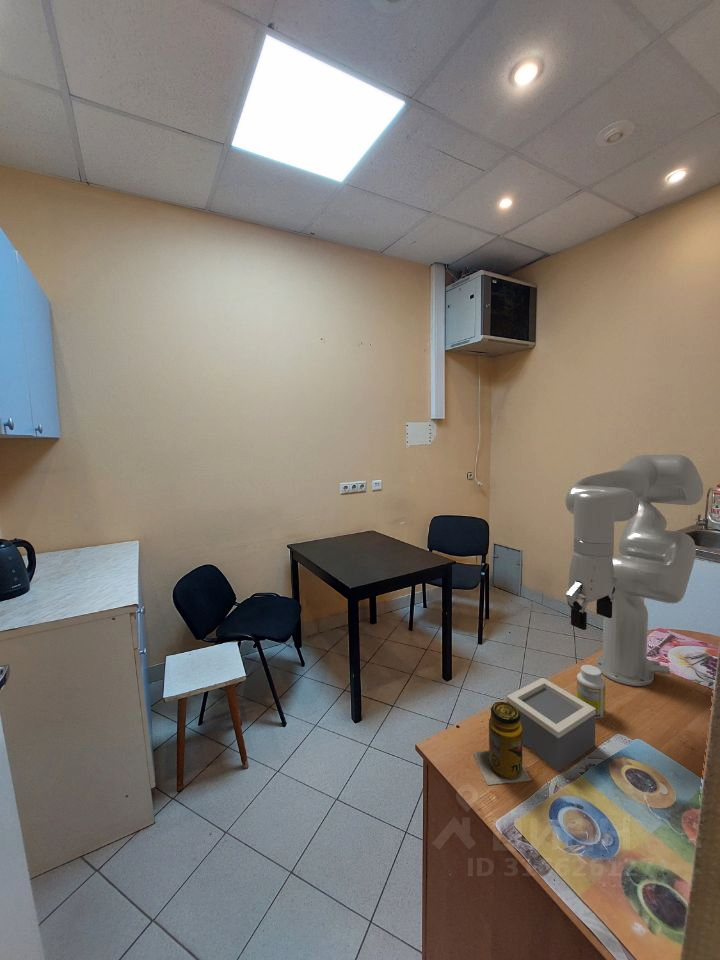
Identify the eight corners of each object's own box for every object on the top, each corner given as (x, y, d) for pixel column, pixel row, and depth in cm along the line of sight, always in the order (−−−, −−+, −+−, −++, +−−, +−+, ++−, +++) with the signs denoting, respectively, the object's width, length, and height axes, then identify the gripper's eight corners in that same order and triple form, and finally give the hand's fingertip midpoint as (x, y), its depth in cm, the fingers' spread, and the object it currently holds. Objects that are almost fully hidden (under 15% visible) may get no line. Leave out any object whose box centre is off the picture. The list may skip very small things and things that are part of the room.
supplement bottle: (590, 700, 91) (591, 660, 90) (610, 716, 85) (611, 674, 84) (570, 705, 89) (571, 664, 88) (590, 722, 84) (591, 679, 83)
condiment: (531, 780, 71) (531, 721, 70) (487, 785, 70) (486, 726, 69) (512, 749, 78) (512, 695, 77) (472, 753, 77) (471, 699, 76)
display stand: (542, 710, 88) (542, 677, 88) (594, 745, 78) (595, 708, 77) (506, 731, 83) (506, 696, 82) (558, 772, 72) (558, 732, 71)
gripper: (598, 537, 91) (596, 606, 92) (552, 550, 83) (551, 625, 84) (633, 544, 84) (630, 618, 86) (586, 559, 76) (585, 639, 78)
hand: (591, 621), depth 85 cm, fingers open, 9 cm apart
